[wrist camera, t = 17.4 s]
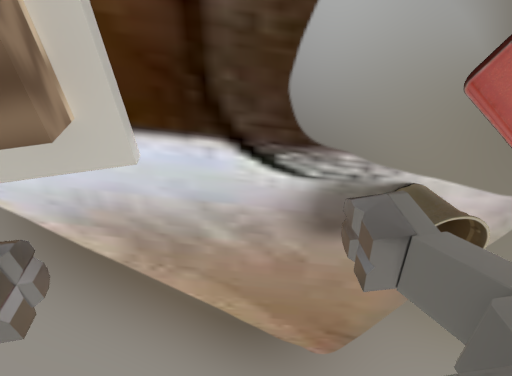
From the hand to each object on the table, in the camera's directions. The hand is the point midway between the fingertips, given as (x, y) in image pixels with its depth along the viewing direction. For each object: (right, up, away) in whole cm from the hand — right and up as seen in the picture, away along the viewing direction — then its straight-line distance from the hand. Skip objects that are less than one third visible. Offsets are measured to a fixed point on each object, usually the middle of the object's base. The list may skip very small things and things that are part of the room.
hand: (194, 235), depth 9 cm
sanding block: (-18, +11, +18) cm, 28 cm away
